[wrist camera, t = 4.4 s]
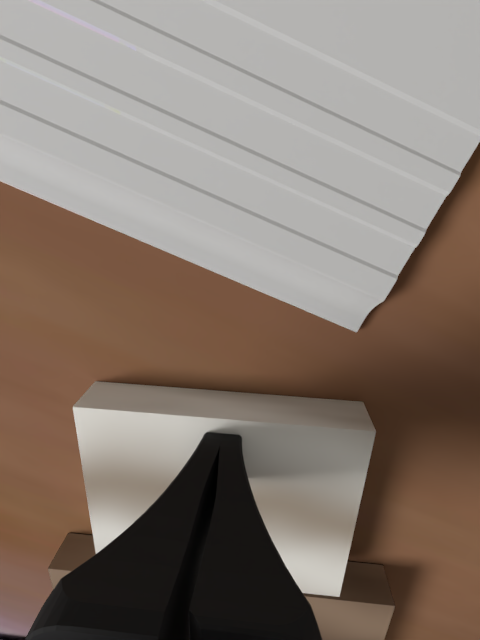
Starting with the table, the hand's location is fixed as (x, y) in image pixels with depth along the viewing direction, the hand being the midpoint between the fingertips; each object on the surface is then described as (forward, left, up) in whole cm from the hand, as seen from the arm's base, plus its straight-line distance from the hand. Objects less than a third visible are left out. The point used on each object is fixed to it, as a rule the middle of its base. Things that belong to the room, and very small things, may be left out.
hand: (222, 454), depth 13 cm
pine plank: (-3, 0, -2) cm, 3 cm away
